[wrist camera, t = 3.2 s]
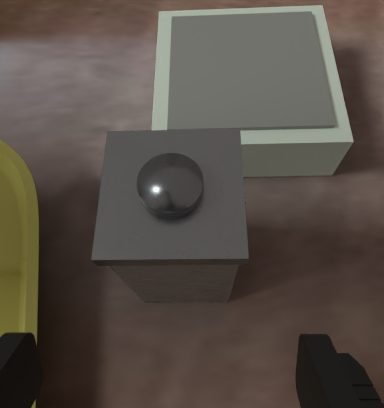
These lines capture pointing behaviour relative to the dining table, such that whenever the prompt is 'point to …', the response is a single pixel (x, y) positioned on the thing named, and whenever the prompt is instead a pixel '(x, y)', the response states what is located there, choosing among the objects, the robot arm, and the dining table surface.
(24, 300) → the plastic component
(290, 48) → the stand
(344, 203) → the dining table surface
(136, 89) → the dining table surface
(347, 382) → the robot arm
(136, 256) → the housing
